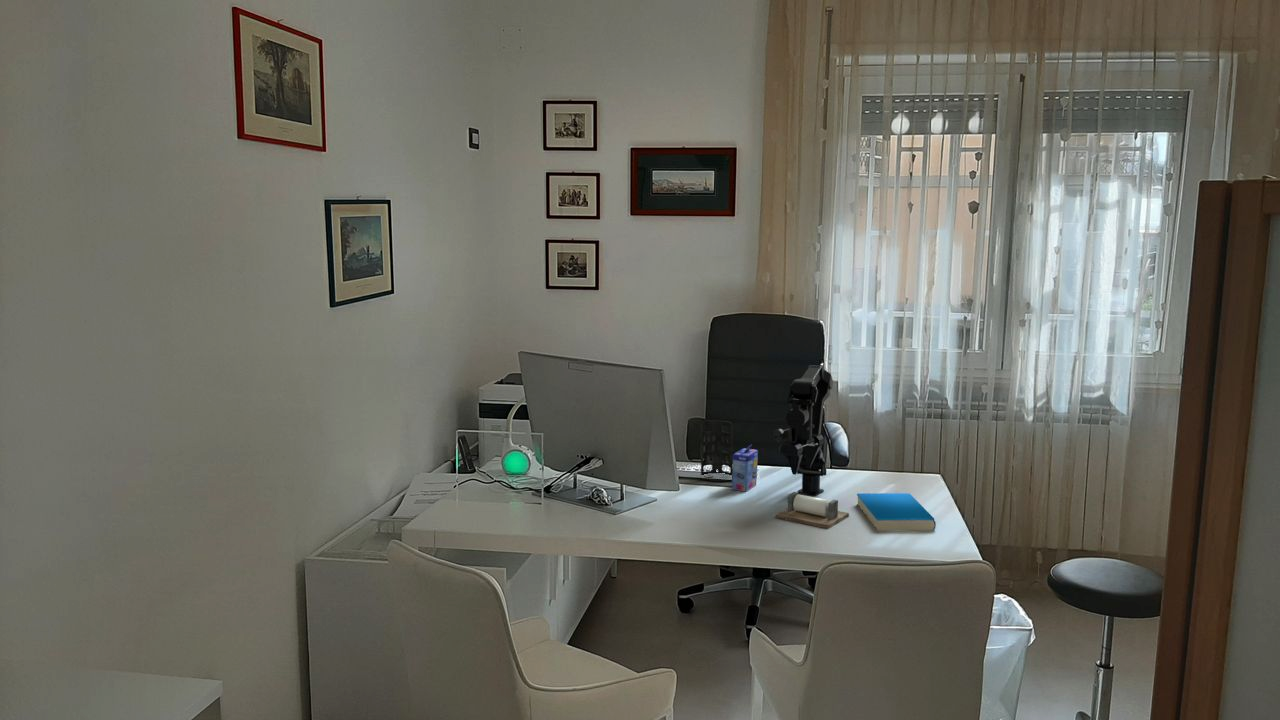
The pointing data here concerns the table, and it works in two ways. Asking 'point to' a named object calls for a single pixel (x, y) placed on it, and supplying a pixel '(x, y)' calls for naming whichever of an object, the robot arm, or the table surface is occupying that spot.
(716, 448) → the holder
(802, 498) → the cylinder
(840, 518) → the roll holder
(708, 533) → the table surface
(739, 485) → the blue purple upright box
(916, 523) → the book
